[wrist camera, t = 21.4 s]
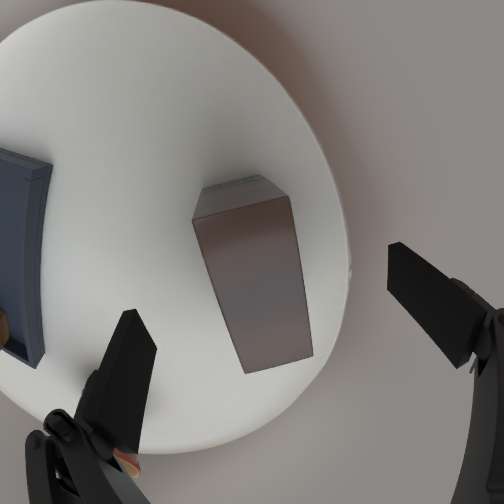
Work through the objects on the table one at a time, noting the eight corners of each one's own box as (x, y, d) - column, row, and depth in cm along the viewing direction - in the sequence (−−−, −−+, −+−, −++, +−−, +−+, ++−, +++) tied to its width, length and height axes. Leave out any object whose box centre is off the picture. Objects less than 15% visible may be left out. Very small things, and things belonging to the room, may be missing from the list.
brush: (201, 189, 19) (191, 220, 12) (261, 174, 19) (289, 195, 12) (235, 304, 23) (244, 374, 16) (285, 291, 23) (313, 356, 16)
